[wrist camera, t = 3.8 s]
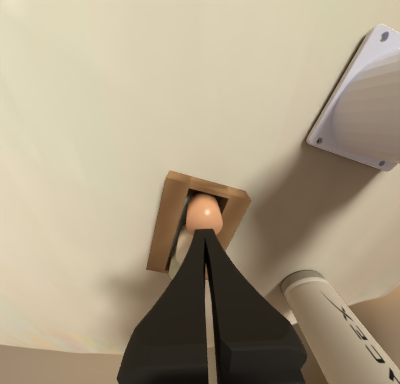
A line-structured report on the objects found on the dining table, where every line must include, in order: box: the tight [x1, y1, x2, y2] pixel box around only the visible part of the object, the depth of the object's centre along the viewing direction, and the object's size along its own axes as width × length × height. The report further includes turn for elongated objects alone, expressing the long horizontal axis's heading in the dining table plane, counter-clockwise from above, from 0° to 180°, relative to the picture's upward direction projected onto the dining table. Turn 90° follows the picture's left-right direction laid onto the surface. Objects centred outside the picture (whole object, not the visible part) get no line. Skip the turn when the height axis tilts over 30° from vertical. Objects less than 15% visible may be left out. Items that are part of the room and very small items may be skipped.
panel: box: [146, 171, 251, 280], centre depth 16 cm, size 8×12×2 cm, turn 163°
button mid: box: [176, 224, 193, 264], centre depth 15 cm, size 3×3×3 cm
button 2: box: [186, 192, 223, 236], centre depth 13 cm, size 3×3×3 cm
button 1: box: [169, 245, 181, 280], centre depth 17 cm, size 3×3×3 cm
